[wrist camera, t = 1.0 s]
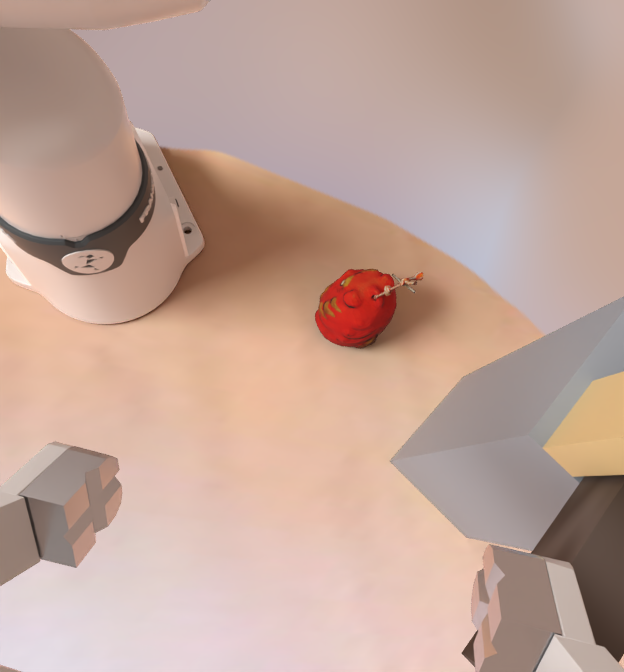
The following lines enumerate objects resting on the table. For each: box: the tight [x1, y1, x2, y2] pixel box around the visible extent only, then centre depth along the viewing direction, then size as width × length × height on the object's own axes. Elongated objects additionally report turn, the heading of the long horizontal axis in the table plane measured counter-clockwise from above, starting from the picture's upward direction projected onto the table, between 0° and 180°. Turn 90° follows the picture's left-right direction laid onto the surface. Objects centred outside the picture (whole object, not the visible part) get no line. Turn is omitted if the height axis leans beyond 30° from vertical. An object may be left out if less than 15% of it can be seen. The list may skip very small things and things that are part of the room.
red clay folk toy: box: [315, 269, 423, 348], centre depth 44 cm, size 8×7×15 cm
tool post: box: [390, 297, 624, 551], centre depth 35 cm, size 12×10×30 cm
